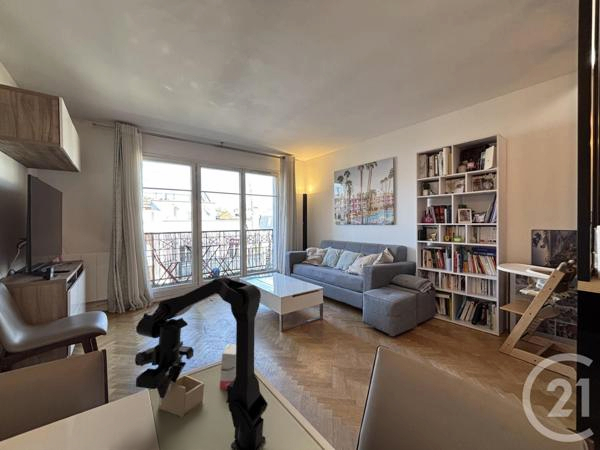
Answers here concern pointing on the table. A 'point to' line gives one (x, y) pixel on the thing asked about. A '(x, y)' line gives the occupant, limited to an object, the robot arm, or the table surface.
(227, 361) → the ink box
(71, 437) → the table surface
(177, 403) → the end flap
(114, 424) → the table surface
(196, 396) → the carton
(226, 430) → the table surface
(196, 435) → the table surface
